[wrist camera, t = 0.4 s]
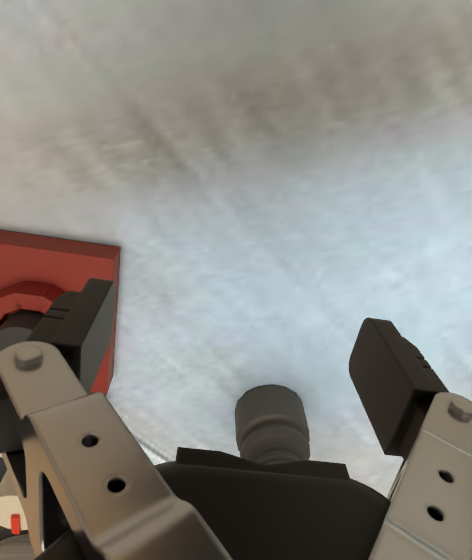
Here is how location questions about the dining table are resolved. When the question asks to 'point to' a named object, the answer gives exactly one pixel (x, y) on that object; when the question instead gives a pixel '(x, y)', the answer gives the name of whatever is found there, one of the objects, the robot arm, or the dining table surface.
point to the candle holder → (271, 426)
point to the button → (18, 327)
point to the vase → (16, 548)
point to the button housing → (54, 279)
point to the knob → (11, 507)
